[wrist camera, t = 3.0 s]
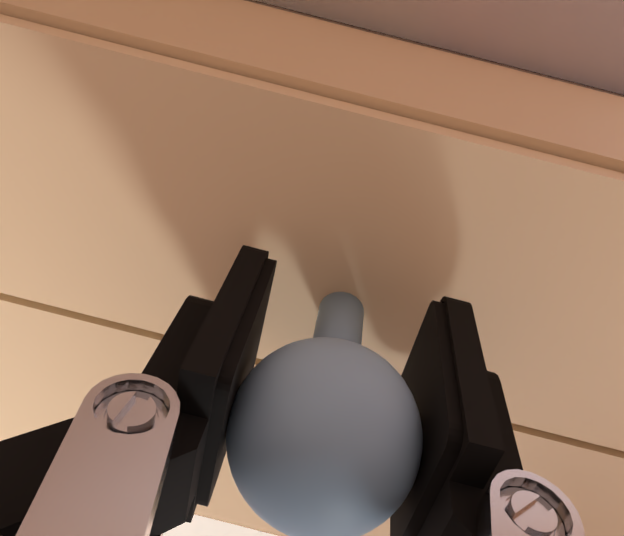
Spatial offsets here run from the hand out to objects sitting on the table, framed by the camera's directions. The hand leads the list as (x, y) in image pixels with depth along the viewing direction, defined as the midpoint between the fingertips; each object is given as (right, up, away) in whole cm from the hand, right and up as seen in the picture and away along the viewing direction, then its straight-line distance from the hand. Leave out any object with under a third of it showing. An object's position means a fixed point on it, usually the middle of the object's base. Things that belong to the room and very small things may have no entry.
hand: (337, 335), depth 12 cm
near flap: (0, +2, +1) cm, 2 cm away
